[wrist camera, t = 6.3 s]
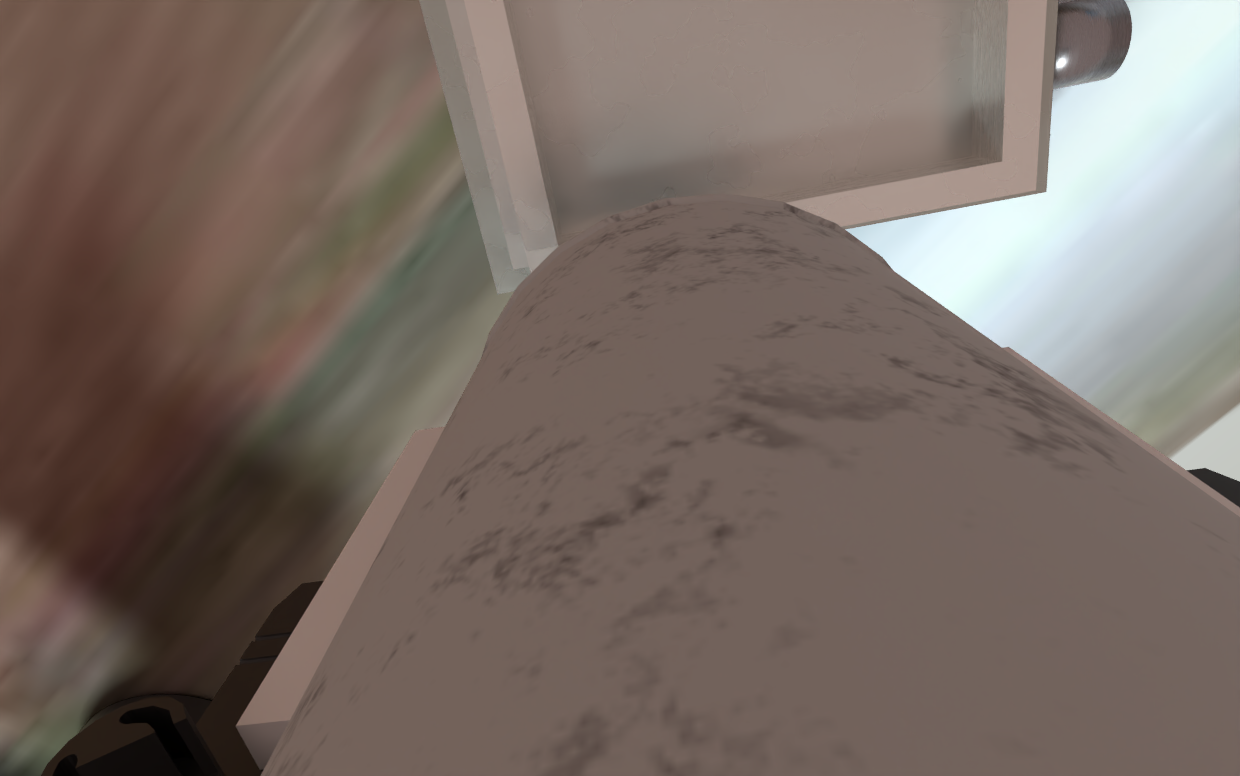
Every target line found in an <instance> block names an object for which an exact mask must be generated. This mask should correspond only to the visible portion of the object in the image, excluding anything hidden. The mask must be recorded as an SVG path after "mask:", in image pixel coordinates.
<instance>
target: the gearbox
mask: <svg viewBox="0 0 1240 776" xmlns="http://www.w3.org/2000/svg"><path fill="white" fill-rule="evenodd" d="M419 2H420V5H421V9H422V13H423V17H424V20H425V24H426V28H427V32H428V35H429V39H430V43H431V46H432V50H433V54H434V58H435V61H436V65H437V69H438V73H439V76H440V80H441V84H442V88H443V91H444V95H445V99H446V103H447V106H448V110H449V114H450V118H451V121H452V125H453V129H454V133H455V136H456V140H457V144H458V147H459V151H460V155H461V159H462V162H463V166H464V170H465V174H466V177H467V181H468V185H469V189H470V192H471V196H472V200H473V204H474V207H475V211H476V215H477V219H478V222H479V226H480V230H481V233H482V237H483V241H484V245H485V248H486V252H487V256H488V260H489V263H490V267H491V271H492V275H493V278H494V282H495V286H496V290H497V293H498V294H501V293H507V292H512V291H515V290H516V288H517V287H518V285H519V284H520V283H521V282H522V281H524V280H525V279H526V278H527V277H528V276H529V275H530V274H531V273H532V272H533V271H534V270H535V269H536V268H537V267H538V266H539V265H540V264H541V263H542V262H543V261H544V260H545V259H546V258H547V257H548V256H549V255H550V254H551V253H552V252H553V251H554V250H555V249H556V248H557V247H558V246H560V245H562V244H563V243H565V242H567V241H568V240H570V239H572V238H573V237H575V236H577V235H578V234H580V233H582V232H583V231H585V230H586V229H588V228H590V227H591V226H593V225H595V224H596V223H598V222H600V221H601V220H603V219H605V218H606V217H609V216H612V215H615V214H618V213H621V212H624V211H627V210H630V209H633V208H636V207H639V206H642V205H645V204H649V203H652V202H655V201H658V200H661V199H664V198H675V197H687V196H698V195H709V194H720V193H726V194H732V195H739V196H746V197H753V198H760V199H767V200H774V201H781V202H784V203H787V204H789V205H792V206H794V207H797V208H799V209H802V210H804V211H807V212H809V213H812V214H814V215H817V216H819V217H822V218H824V219H827V220H829V221H832V222H834V223H836V224H838V225H839V226H840V227H842V228H843V229H850V228H855V227H860V226H866V225H871V224H876V223H882V222H887V221H892V220H898V219H903V218H909V217H914V216H919V215H925V214H930V213H935V212H941V211H946V210H951V209H957V208H962V207H967V206H973V205H978V204H984V203H989V202H994V201H1000V200H1005V199H1010V198H1016V197H1021V196H1026V195H1032V194H1037V193H1042V192H1046V187H1047V172H1048V156H1049V140H1050V125H1051V109H1052V93H1053V89H1058V88H1064V87H1069V86H1074V85H1079V84H1084V83H1089V82H1094V81H1099V80H1104V79H1107V78H1109V77H1111V76H1112V75H1113V74H1114V73H1115V72H1116V71H1117V70H1118V69H1119V68H1120V66H1121V65H1122V63H1123V61H1124V59H1125V57H1126V55H1127V52H1128V49H1129V46H1130V41H1131V33H1132V22H1131V15H1130V11H1129V8H1128V6H1127V4H1126V2H1125V1H1124V0H1075V1H1071V2H1066V3H1061V4H1058V0H419Z"/></svg>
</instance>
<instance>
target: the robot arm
mask: <svg viewBox="0 0 1240 776" xmlns="http://www.w3.org/2000/svg"><path fill="white" fill-rule="evenodd" d="M1003 349H1004V350H1005V351H1007V352H1008V353H1010V354H1011V355H1012V356H1014V357H1015V358H1017V359H1018V360H1019V361H1021V362H1022V363H1024V364H1025V365H1027V366H1028V367H1029V368H1031V369H1032V370H1034V371H1035V372H1036V373H1038V374H1039V375H1041V376H1042V377H1043V378H1045V379H1046V380H1048V381H1049V382H1050V383H1052V384H1053V385H1055V386H1056V387H1058V388H1059V389H1060V390H1062V391H1063V392H1065V393H1066V394H1067V395H1069V396H1070V397H1072V398H1073V399H1074V400H1076V401H1077V402H1079V403H1080V404H1081V405H1083V406H1084V407H1086V408H1087V409H1088V410H1090V411H1091V412H1093V413H1094V414H1096V415H1097V416H1098V417H1100V418H1101V419H1103V420H1104V421H1105V422H1107V423H1108V424H1110V425H1111V426H1112V427H1114V428H1115V429H1117V430H1118V431H1119V432H1121V433H1122V434H1124V435H1125V436H1127V437H1128V438H1129V439H1131V440H1132V441H1134V442H1135V443H1136V444H1138V445H1139V446H1141V447H1142V448H1143V449H1145V450H1146V451H1148V452H1149V453H1150V454H1152V455H1153V456H1155V457H1156V458H1157V459H1159V460H1160V461H1162V462H1163V463H1165V464H1166V465H1167V466H1169V467H1170V468H1172V469H1173V470H1174V471H1176V472H1177V473H1179V474H1180V475H1181V476H1183V477H1184V478H1186V479H1187V480H1188V481H1190V482H1191V483H1193V484H1194V485H1196V486H1197V487H1198V488H1200V489H1201V490H1203V491H1204V492H1205V493H1207V494H1208V495H1210V496H1211V497H1212V498H1214V499H1215V500H1217V501H1218V502H1219V503H1221V504H1222V505H1224V506H1225V507H1226V508H1228V509H1229V510H1231V511H1232V512H1234V513H1235V514H1236V515H1238V516H1239V517H1240V482H1239V481H1237V480H1234V479H1231V478H1229V477H1226V476H1224V475H1221V474H1219V473H1216V472H1213V471H1211V470H1209V469H1206V468H1203V469H1195V470H1187V471H1186V470H1185V469H1183V468H1182V467H1180V466H1179V465H1177V464H1176V463H1175V462H1173V461H1172V460H1170V459H1169V458H1168V457H1166V456H1165V455H1163V454H1162V453H1160V452H1159V451H1158V450H1156V449H1155V448H1153V447H1152V446H1150V445H1149V444H1147V443H1146V442H1145V441H1143V440H1142V439H1140V438H1139V437H1137V436H1136V435H1135V434H1133V433H1132V432H1130V431H1129V430H1127V429H1126V428H1124V427H1123V426H1122V425H1120V424H1119V423H1117V422H1116V421H1114V420H1113V419H1112V418H1110V417H1109V416H1107V415H1106V414H1104V413H1103V412H1101V411H1100V410H1099V409H1097V408H1096V407H1094V406H1093V405H1091V404H1090V403H1089V402H1087V401H1086V400H1084V399H1083V398H1081V397H1080V396H1078V395H1077V394H1076V393H1074V392H1073V391H1071V390H1070V389H1068V388H1067V387H1065V386H1064V385H1063V384H1061V383H1060V382H1058V381H1057V380H1055V379H1054V378H1053V377H1051V376H1050V375H1048V374H1047V373H1045V372H1044V371H1042V370H1041V369H1040V368H1038V367H1037V366H1035V365H1034V364H1032V363H1031V362H1030V361H1028V360H1027V359H1025V358H1024V357H1022V356H1021V355H1019V354H1018V353H1017V352H1015V351H1014V350H1012V349H1011V348H1009V347H1005V348H1003ZM444 428H445V427H438V428H431V429H424V430H417V431H415V432H414V434H413V435H412V437H411V439H410V440H409V442H408V444H407V445H406V447H405V448H404V450H403V452H402V453H401V455H400V457H399V458H398V460H397V462H396V463H395V465H394V467H393V468H392V470H391V471H390V473H389V475H388V476H387V478H386V480H385V481H384V483H383V485H382V486H381V488H380V490H379V491H378V493H377V494H376V496H375V498H374V499H373V501H372V503H371V504H370V506H369V508H368V509H367V511H366V513H365V514H364V516H363V517H362V519H361V521H360V522H359V524H358V526H357V527H356V529H355V531H354V532H353V534H352V536H351V537H350V539H349V540H348V542H347V544H346V545H345V547H344V549H343V550H342V552H341V554H340V555H339V557H338V559H337V560H336V562H335V563H334V565H333V567H332V568H331V570H330V572H329V573H328V575H327V577H326V578H325V580H324V581H319V582H311V583H303V584H301V585H300V586H299V587H298V588H297V589H296V590H295V591H293V592H292V593H291V594H290V595H289V596H288V597H287V598H286V599H284V600H283V601H282V602H281V603H280V604H279V605H278V606H276V607H275V608H274V609H273V611H272V612H271V614H270V615H269V617H268V618H267V620H266V621H265V623H264V624H263V626H262V627H261V629H260V630H259V632H258V633H257V635H256V636H255V637H256V641H255V642H251V644H250V645H249V647H248V648H247V650H246V651H245V653H244V654H243V656H242V657H241V659H240V665H236V666H235V667H234V669H233V670H232V672H231V673H230V675H229V676H228V678H227V679H226V681H225V682H224V684H223V685H222V687H221V688H220V690H219V691H218V693H217V694H216V696H215V697H214V699H213V700H212V701H209V700H205V699H200V698H196V697H189V696H181V695H148V696H140V697H135V698H130V699H126V700H123V701H120V702H117V703H115V704H113V705H110V706H108V707H106V708H105V709H103V710H101V711H100V712H98V713H97V714H96V715H94V716H93V717H92V718H91V719H90V720H89V721H88V722H87V724H86V725H85V726H84V727H83V728H82V730H81V731H80V732H79V733H78V734H77V735H76V736H75V737H73V738H72V739H71V740H69V741H68V742H67V744H66V745H65V746H64V747H63V748H62V749H61V750H60V751H59V752H58V753H57V754H56V755H55V756H54V757H53V758H52V760H51V761H50V762H49V763H48V764H47V766H46V767H45V769H44V771H43V773H42V775H41V776H261V774H262V772H263V770H264V768H265V766H266V764H267V763H268V761H269V759H270V757H271V755H272V753H273V751H274V749H275V747H276V746H277V744H278V742H279V740H280V738H281V736H282V734H283V732H284V730H285V729H286V727H287V725H288V723H289V721H290V719H291V717H292V715H293V713H294V712H295V710H296V708H297V706H298V704H299V702H300V700H301V698H302V696H303V695H304V693H305V691H306V689H307V687H308V685H309V683H310V681H311V679H312V678H313V676H314V674H315V672H316V670H317V668H318V666H319V664H320V662H321V661H322V659H323V657H324V655H325V653H326V651H327V649H328V647H329V645H330V644H331V642H332V640H333V638H334V636H335V634H336V632H337V630H338V628H339V627H340V625H341V623H342V621H343V619H344V617H345V615H346V613H347V611H348V610H349V608H350V606H351V604H352V602H353V600H354V598H355V596H356V594H357V592H358V591H359V589H360V587H361V585H362V583H363V581H364V579H365V577H366V575H367V574H368V572H369V570H370V568H371V566H372V564H373V562H374V560H375V558H376V557H377V555H378V553H379V551H380V549H381V547H382V545H383V543H384V541H385V540H386V538H387V536H388V534H389V532H390V530H391V528H392V526H393V524H394V523H395V521H396V519H397V517H398V515H399V513H400V511H401V509H402V507H403V506H404V504H405V502H406V500H407V498H408V496H409V494H410V492H411V490H412V489H413V487H414V485H415V483H416V481H417V479H418V477H419V475H420V473H421V472H422V470H423V468H424V466H425V464H426V462H427V460H428V458H429V456H430V455H431V453H432V451H433V449H434V447H435V445H436V443H437V441H438V439H439V438H440V436H441V434H442V432H443V430H444Z"/></svg>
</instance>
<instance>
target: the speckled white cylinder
mask: <svg viewBox="0 0 1240 776" xmlns="http://www.w3.org/2000/svg"><path fill="white" fill-rule="evenodd" d="M261 776H1240V517H1239V516H1238V515H1236V514H1235V513H1234V512H1232V511H1231V510H1229V509H1228V508H1226V507H1225V506H1224V505H1222V504H1221V503H1219V502H1218V501H1217V500H1215V499H1214V498H1212V497H1211V496H1210V495H1208V494H1207V493H1205V492H1204V491H1203V490H1201V489H1200V488H1198V487H1197V486H1196V485H1194V484H1193V483H1191V482H1190V481H1188V480H1187V479H1186V478H1184V477H1183V476H1181V475H1180V474H1179V473H1177V472H1176V471H1174V470H1173V469H1172V468H1170V467H1169V466H1167V465H1166V464H1165V463H1163V462H1162V461H1160V460H1159V459H1157V458H1156V457H1155V456H1153V455H1152V454H1150V453H1149V452H1148V451H1146V450H1145V449H1143V448H1142V447H1141V446H1139V445H1138V444H1136V443H1135V442H1134V441H1132V440H1131V439H1129V438H1128V437H1127V436H1125V435H1124V434H1122V433H1121V432H1119V431H1118V430H1117V429H1115V428H1114V427H1112V426H1111V425H1110V424H1108V423H1107V422H1105V421H1104V420H1103V419H1101V418H1100V417H1098V416H1097V415H1096V414H1094V413H1093V412H1091V411H1090V410H1088V409H1087V408H1086V407H1084V406H1083V405H1081V404H1080V403H1079V402H1077V401H1076V400H1074V399H1073V398H1072V397H1070V396H1069V395H1067V394H1066V393H1065V392H1063V391H1062V390H1060V389H1059V388H1058V387H1056V386H1055V385H1053V384H1052V383H1050V382H1049V381H1048V380H1046V379H1045V378H1043V377H1042V376H1041V375H1039V374H1038V373H1036V372H1035V371H1034V370H1032V369H1031V368H1029V367H1028V366H1027V365H1025V364H1024V363H1022V362H1021V361H1019V360H1018V359H1017V358H1015V357H1014V356H1012V355H1011V354H1010V353H1008V352H1007V351H1005V350H1004V349H1003V348H1001V347H1000V346H998V345H997V344H996V343H994V342H993V341H991V340H990V339H989V338H987V337H986V336H984V335H983V334H981V333H980V332H979V331H977V330H976V329H974V328H973V327H972V326H970V325H969V324H967V323H966V322H965V321H963V320H962V319H960V318H959V317H958V316H956V315H955V314H953V313H952V312H950V311H949V310H948V309H946V308H945V307H943V306H942V305H941V304H939V303H938V302H936V301H935V300H934V299H932V298H931V297H929V296H928V295H927V294H925V293H924V292H922V291H921V290H920V289H918V288H917V287H915V286H914V285H912V284H911V283H910V282H908V281H907V280H905V279H904V278H903V277H901V276H900V275H898V274H897V273H896V272H894V271H893V270H892V269H891V267H890V266H889V265H888V264H887V262H886V261H885V260H884V259H883V257H881V256H880V255H879V254H877V253H876V252H875V251H873V250H872V249H870V248H869V247H868V246H866V245H865V244H864V243H862V242H861V241H860V240H858V239H857V238H855V237H854V236H853V235H851V234H850V233H849V232H847V231H846V230H845V229H843V228H842V227H840V226H839V225H838V224H836V223H834V222H832V221H829V220H827V219H824V218H822V217H819V216H817V215H814V214H812V213H809V212H807V211H804V210H802V209H799V208H797V207H794V206H792V205H789V204H787V203H784V202H781V201H774V200H767V199H760V198H753V197H746V196H739V195H732V194H726V193H720V194H709V195H698V196H687V197H675V198H664V199H661V200H658V201H655V202H652V203H649V204H645V205H642V206H639V207H636V208H633V209H630V210H627V211H624V212H621V213H618V214H615V215H612V216H609V217H606V218H605V219H603V220H601V221H600V222H598V223H596V224H595V225H593V226H591V227H590V228H588V229H586V230H585V231H583V232H582V233H580V234H578V235H577V236H575V237H573V238H572V239H570V240H568V241H567V242H565V243H563V244H562V245H560V246H558V247H557V248H556V249H555V250H554V251H553V252H552V253H551V254H550V255H549V256H548V257H547V258H546V259H545V260H544V261H543V262H542V263H541V264H540V265H539V266H538V267H537V268H536V269H535V270H534V271H533V272H532V273H531V274H530V275H529V276H528V277H527V278H526V279H525V280H524V281H522V282H521V283H520V284H519V285H518V287H517V288H516V290H515V292H514V293H513V295H512V296H511V298H510V300H509V301H508V303H507V305H506V306H505V308H504V309H503V311H502V313H501V314H500V316H499V318H498V319H497V321H496V322H495V324H494V326H493V327H492V329H491V331H490V332H489V335H488V338H487V341H486V345H485V348H484V351H483V354H482V357H481V360H480V362H479V364H478V366H477V368H476V370H475V371H474V373H473V375H472V377H471V379H470V381H469V383H468V385H467V387H466V388H465V390H464V392H463V394H462V396H461V398H460V400H459V402H458V404H457V405H456V407H455V409H454V411H453V413H452V415H451V417H450V419H449V421H448V422H447V424H446V426H445V428H444V430H443V432H442V434H441V436H440V438H439V439H438V441H437V443H436V445H435V447H434V449H433V451H432V453H431V455H430V456H429V458H428V460H427V462H426V464H425V466H424V468H423V470H422V472H421V473H420V475H419V477H418V479H417V481H416V483H415V485H414V487H413V489H412V490H411V492H410V494H409V496H408V498H407V500H406V502H405V504H404V506H403V507H402V509H401V511H400V513H399V515H398V517H397V519H396V521H395V523H394V524H393V526H392V528H391V530H390V532H389V534H388V536H387V538H386V540H385V541H384V543H383V545H382V547H381V549H380V551H379V553H378V555H377V557H376V558H375V560H374V562H373V564H372V566H371V568H370V570H369V572H368V574H367V575H366V577H365V579H364V581H363V583H362V585H361V587H360V589H359V591H358V592H357V594H356V596H355V598H354V600H353V602H352V604H351V606H350V608H349V610H348V611H347V613H346V615H345V617H344V619H343V621H342V623H341V625H340V627H339V628H338V630H337V632H336V634H335V636H334V638H333V640H332V642H331V644H330V645H329V647H328V649H327V651H326V653H325V655H324V657H323V659H322V661H321V662H320V664H319V666H318V668H317V670H316V672H315V674H314V676H313V678H312V679H311V681H310V683H309V685H308V687H307V689H306V691H305V693H304V695H303V696H302V698H301V700H300V702H299V704H298V706H297V708H296V710H295V712H294V713H293V715H292V717H291V719H290V721H289V723H288V725H287V727H286V729H285V730H284V732H283V734H282V736H281V738H280V740H279V742H278V744H277V746H276V747H275V749H274V751H273V753H272V755H271V757H270V759H269V761H268V763H267V764H266V766H265V768H264V770H263V772H262V774H261Z"/></svg>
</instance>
